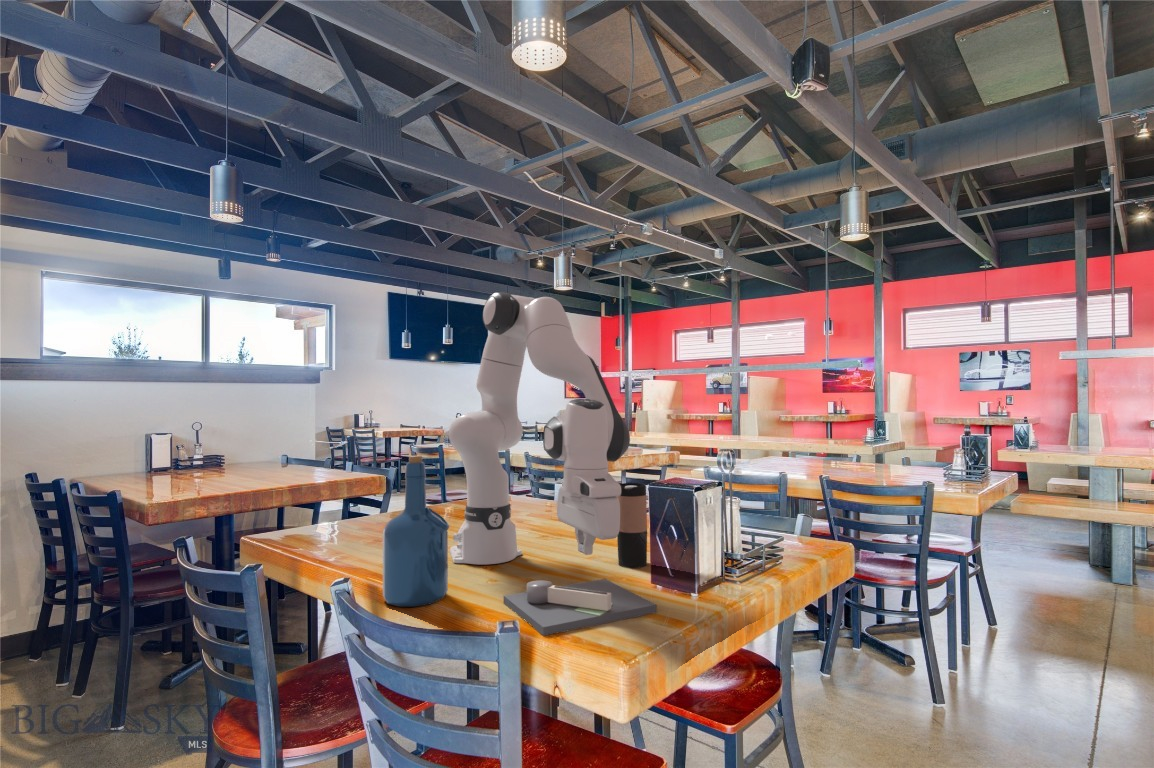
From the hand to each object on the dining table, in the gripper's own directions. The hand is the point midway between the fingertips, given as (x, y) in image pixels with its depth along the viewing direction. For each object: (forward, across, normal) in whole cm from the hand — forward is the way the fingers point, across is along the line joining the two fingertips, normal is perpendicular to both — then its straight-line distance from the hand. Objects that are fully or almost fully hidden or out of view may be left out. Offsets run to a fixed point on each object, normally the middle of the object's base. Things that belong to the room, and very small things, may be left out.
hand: (585, 552), depth 115 cm
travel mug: (+12, -25, +27) cm, 38 cm away
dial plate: (+12, -3, 0) cm, 12 cm away
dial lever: (+10, -1, -3) cm, 10 cm away
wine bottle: (+13, -24, -27) cm, 39 cm away
